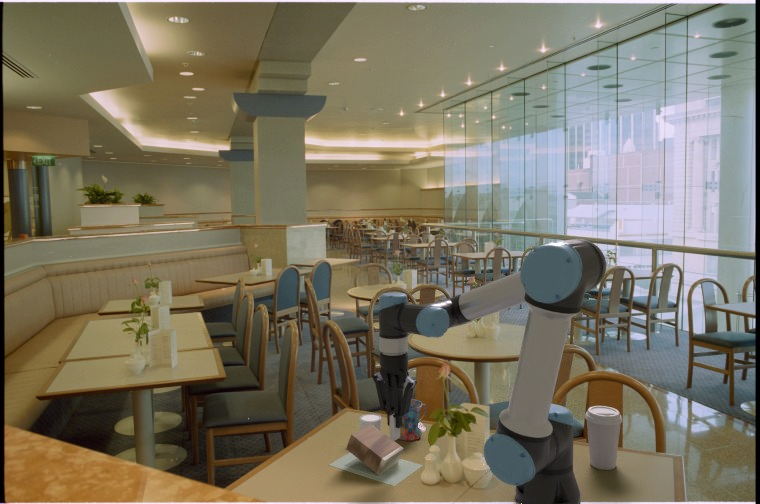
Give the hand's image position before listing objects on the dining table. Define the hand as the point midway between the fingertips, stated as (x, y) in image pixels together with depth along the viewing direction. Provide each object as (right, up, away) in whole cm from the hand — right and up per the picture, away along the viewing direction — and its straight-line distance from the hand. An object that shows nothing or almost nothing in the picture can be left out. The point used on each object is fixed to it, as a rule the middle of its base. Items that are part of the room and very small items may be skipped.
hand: (395, 438), depth 157 cm
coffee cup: (+57, -8, +3) cm, 57 cm away
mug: (+6, -8, +25) cm, 27 cm away
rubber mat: (-5, -9, +5) cm, 12 cm away
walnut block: (-1, -7, +1) cm, 7 cm away
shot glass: (-7, -8, +23) cm, 25 cm away
